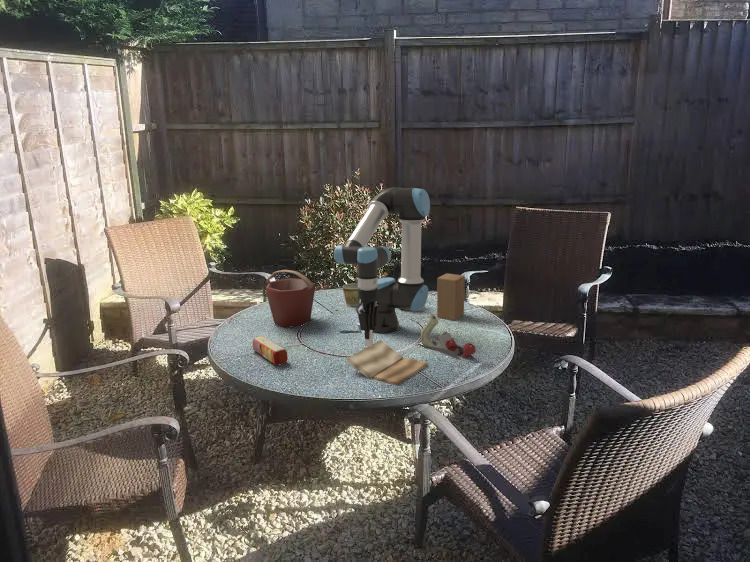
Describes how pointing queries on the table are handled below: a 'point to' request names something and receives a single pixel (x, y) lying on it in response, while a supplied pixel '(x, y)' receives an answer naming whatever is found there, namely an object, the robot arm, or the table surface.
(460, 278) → the wooden block
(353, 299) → the ceramic cup
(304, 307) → the bucket
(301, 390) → the table surface
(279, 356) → the snack package
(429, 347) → the hand plane
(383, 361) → the ash plank
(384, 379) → the oak plank
